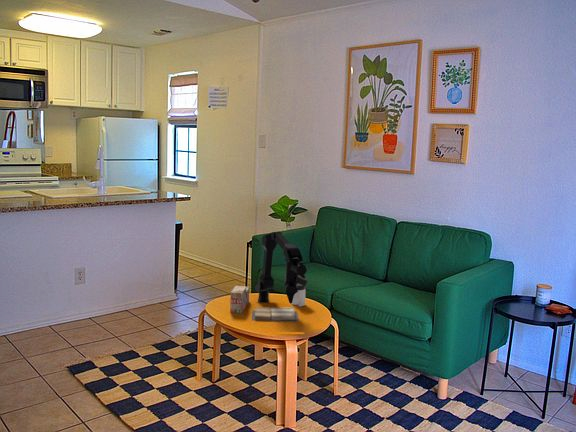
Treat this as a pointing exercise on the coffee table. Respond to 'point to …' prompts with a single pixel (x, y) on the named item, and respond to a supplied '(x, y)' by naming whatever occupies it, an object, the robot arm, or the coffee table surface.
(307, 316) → the coffee table surface
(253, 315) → the underlay mat
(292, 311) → the ash plank
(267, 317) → the oak board
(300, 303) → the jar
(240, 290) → the stack of blocks
